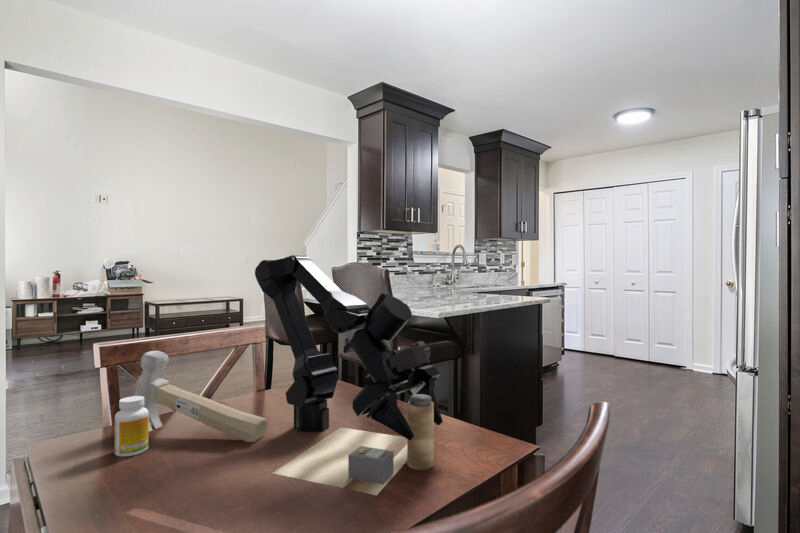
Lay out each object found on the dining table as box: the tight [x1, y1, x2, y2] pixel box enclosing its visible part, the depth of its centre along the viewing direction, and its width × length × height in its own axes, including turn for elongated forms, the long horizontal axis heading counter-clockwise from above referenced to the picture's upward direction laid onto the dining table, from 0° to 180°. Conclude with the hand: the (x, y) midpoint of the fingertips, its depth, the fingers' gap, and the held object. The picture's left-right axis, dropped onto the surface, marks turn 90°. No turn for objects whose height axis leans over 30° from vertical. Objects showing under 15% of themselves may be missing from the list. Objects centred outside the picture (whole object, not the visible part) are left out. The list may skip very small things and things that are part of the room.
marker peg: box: [406, 394, 435, 471], centre depth 74 cm, size 4×4×12 cm
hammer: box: [133, 350, 268, 443], centre depth 89 cm, size 16×5×30 cm
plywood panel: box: [272, 426, 407, 496], centre depth 77 cm, size 18×22×1 cm
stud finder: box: [348, 446, 393, 484], centre depth 70 cm, size 6×4×4 cm, turn 68°
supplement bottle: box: [114, 395, 150, 458], centre depth 81 cm, size 5×5×10 cm
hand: (427, 430), depth 73 cm, fingers open, 8 cm apart
